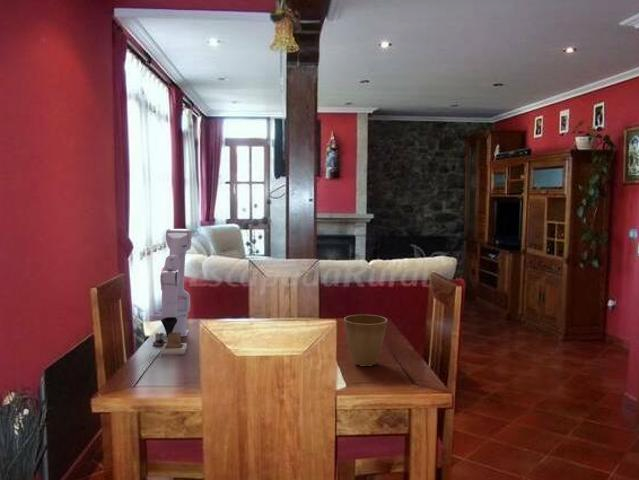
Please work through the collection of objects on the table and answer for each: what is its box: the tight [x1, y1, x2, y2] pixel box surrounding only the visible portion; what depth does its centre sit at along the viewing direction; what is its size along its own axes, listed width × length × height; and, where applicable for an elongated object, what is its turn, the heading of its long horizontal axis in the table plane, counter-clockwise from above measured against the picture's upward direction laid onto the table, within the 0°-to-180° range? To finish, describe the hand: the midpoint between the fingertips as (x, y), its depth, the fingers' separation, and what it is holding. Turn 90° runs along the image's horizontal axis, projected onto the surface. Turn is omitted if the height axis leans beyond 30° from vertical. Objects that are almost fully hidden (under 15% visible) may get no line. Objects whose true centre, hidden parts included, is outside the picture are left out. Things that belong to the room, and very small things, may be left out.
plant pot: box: [343, 314, 388, 366], centre depth 183 cm, size 15×15×16 cm
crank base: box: [152, 332, 179, 347], centre depth 203 cm, size 6×10×4 cm, turn 97°
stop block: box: [167, 333, 182, 349], centre depth 193 cm, size 4×4×6 cm
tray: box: [160, 342, 188, 356], centre depth 193 cm, size 8×8×2 cm
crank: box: [154, 331, 168, 342], centre depth 202 cm, size 9×3×3 cm, turn 80°
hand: (169, 337), depth 200 cm, fingers closed, pressing on crank
